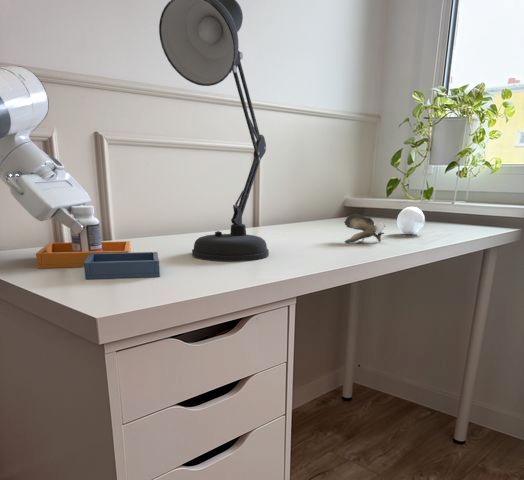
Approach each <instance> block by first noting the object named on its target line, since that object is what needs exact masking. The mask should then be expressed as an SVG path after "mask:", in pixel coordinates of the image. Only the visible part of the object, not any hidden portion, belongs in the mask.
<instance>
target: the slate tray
mask: <svg viewBox="0 0 524 480" xmlns="http://www.w3.org/2000/svg"><path fill="white" fill-rule="evenodd" d="M158 254H159V253H158V251H142V252H141V251H139V252H131V253H91V254H89V255H88V257H87V259H86V260H85V262H84V267H83V269H84V278H85V280H105V279H131V278H136V279H137V278H138V279H139V278H160V277H161V274H160V273H161V272H160V271H161V270H160V269H161V268H160V260H159V255H158Z"/></svg>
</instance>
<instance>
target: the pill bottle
mask: <svg viewBox="0 0 524 480" xmlns="http://www.w3.org/2000/svg"><path fill="white" fill-rule="evenodd" d="M71 213H72V214H71V216H72V217H73V218H75V219H76V220H79V221H80V222H81V223H82V224H83V225H84V226H85V229H84V230H83V231H82V232H81V233H79V234H76V233H74V232H73V231H72V230H71V229H70V228H69V232H70V239H71V242H72V248H73V252H96V251H102V244H101V242H102V235H101V228H100V227H101V226H100V220H99V219H98V218H97V217H95V216H94V215H95V206H94V205H88V206H72V207H71Z"/></svg>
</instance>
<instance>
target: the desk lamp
mask: <svg viewBox="0 0 524 480" xmlns="http://www.w3.org/2000/svg"><path fill="white" fill-rule="evenodd" d="M243 19H244V15H243V10H242V7H241V5H240V3H239V2H238V1H237V0H169V1H168V2H167V4H166V5H165V6H164V7H163V10H162V11H161V15H160V18H159V24H158V35H159V41H160V44H161V45H160V46H161V49H162V50H163V54H164V56H165V58H166V59H167V61H168V63H169V64H170V66H171V67H172V68H173V70H175V72H176V73H177V74H179V75H180V76H181V77H182V78H183V79H184V80H186V81H188V82H190V83H192V84H194V85H197V86H201V87H210V86H211V87H212V86H215V85H218V84H220V83H222V82H223V81H225V80H226V79H227V77H228V76H229V74H231V73H232V75H233V78H234V81H235V86H236V89H237V93H238V95H239V99H240V100H239V101H240V103H241V107H242V110H243V114H244V118H245V121H246V126H247V128H248V132H249V136H250V138H251V139H250V140H251V143H252V146H253V149H254V150H253V161H252V164H251V167H250V169H249V173H248V175H247V179H246V182H245V185H244V188H243V189H242V191H241V193H240V194H239V196H238V198H237V200H236V201H235V204H233V205H232V208H233V214H232V218H231V219H230V222H231V225H230V233H223V232H222V231H219V230H217V231H215V232H214V233H213V234H206V235H202V236H200V237H198V238H197V239H196V240H195V241H194V244H193V249H192V250H191V256H192V257H193V258H195V259H198V260H204V261H205V260H206V261H214V262H246V261H255V260H256V261H257V260H261V259H265V258H268V257H269V255H270V253H269V252H270V250H269V249H268V246H267V243H266V239H264V238H263V237H260V236H257V235H255V234H254V235H253V234H247V227H246V224H244V223H243V214H244V211H245V209H246V205H247V201H248V200H249V196H250V193H251V190H252V187H253V184H254V181H255V178H256V175H257V172H258V169H259V166H260V163H261V160H262V158H263V157H264V155H265V154H266V151H267V142H266V139H265V135H263V134H261V133H260V130H259V127H258V122H257V119H256V115H255V111H254V108H253V103H252V100H251V96H250V92H249V88H248V84H247V81H246V76H245V73H244V69H243V66H242V62H241V60H243V58H244V54H243V52H242V51H240V50H239V47H240V46H239V34H238V33H239V31H240V30H241V28H242V25H243ZM237 69H238V70H237ZM238 73H239V75H238ZM239 77H240V79H239ZM240 80H241V83H240ZM241 84H242V86H241ZM242 88H243V89H242ZM243 91H244V93H243ZM244 95H245V97H244ZM245 98H246V101H245ZM246 102H247V104H246ZM247 105H248V108H247ZM248 109H249V112H248ZM249 113H250V115H249Z"/></svg>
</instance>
